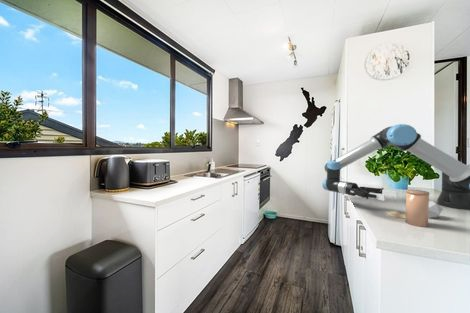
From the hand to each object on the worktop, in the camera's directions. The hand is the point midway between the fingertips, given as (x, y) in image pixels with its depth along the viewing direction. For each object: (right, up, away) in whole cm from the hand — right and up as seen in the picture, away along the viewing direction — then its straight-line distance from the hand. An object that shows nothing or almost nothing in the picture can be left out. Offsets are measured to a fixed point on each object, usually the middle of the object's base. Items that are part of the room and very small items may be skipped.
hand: (391, 196), depth 97 cm
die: (+20, -11, 0) cm, 22 cm away
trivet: (+7, -11, +3) cm, 13 cm away
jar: (+5, -11, -8) cm, 15 cm away
